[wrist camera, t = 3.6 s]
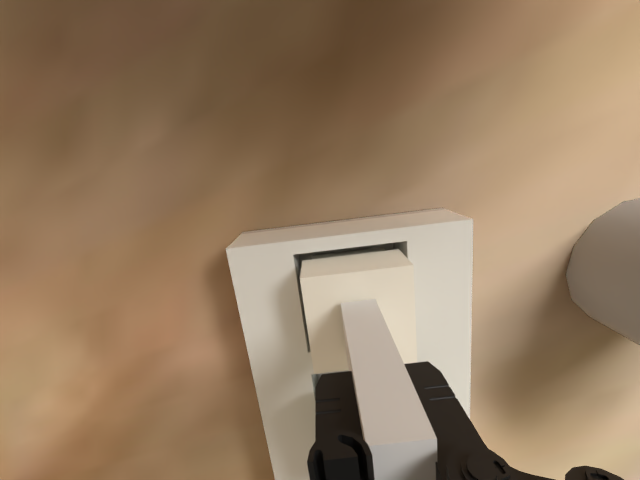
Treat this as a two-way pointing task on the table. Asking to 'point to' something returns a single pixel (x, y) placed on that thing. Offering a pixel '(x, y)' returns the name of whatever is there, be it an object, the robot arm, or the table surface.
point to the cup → (609, 270)
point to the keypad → (290, 322)
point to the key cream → (356, 285)
